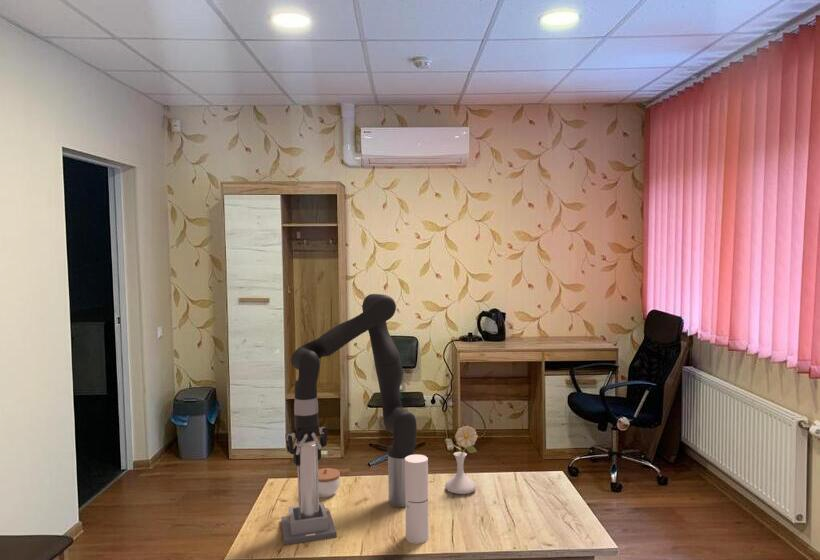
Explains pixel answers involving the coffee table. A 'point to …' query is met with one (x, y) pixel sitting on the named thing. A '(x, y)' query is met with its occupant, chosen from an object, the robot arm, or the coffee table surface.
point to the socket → (307, 526)
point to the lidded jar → (328, 482)
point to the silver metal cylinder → (308, 481)
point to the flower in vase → (462, 462)
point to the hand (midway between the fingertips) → (307, 462)
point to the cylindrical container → (416, 498)
